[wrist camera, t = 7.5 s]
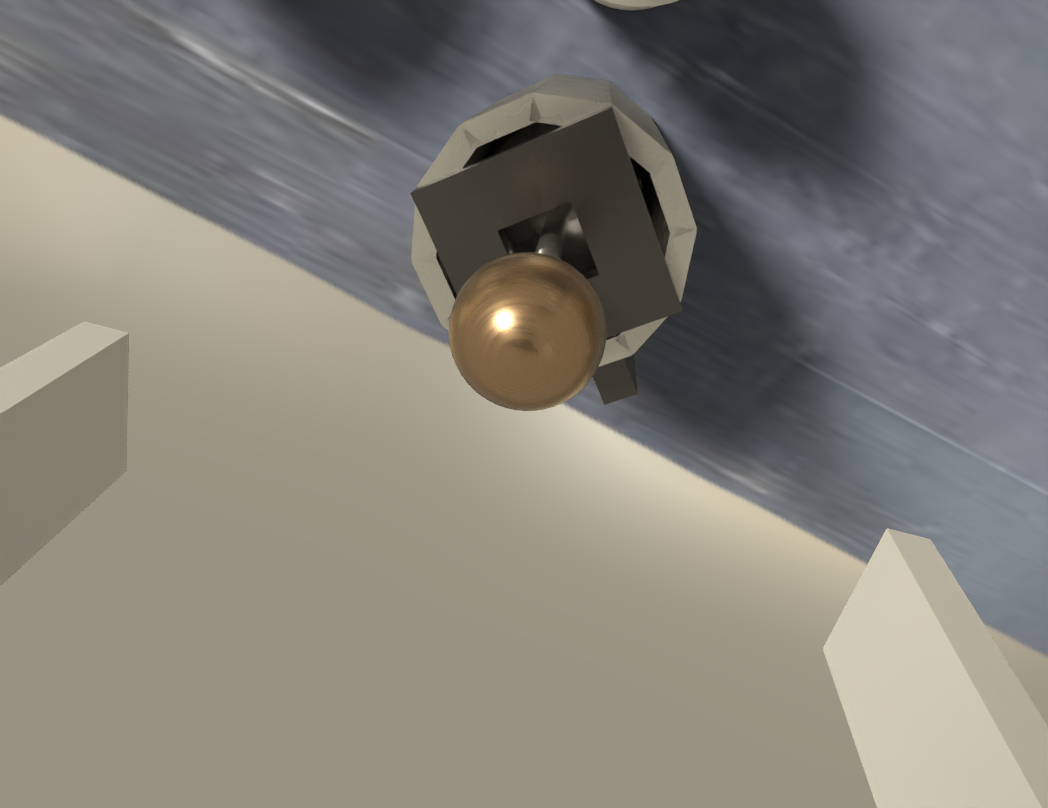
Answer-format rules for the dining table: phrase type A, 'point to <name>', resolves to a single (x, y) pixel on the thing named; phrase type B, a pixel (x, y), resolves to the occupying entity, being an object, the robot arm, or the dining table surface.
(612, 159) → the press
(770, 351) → the dining table surface
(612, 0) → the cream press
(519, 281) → the plunger
